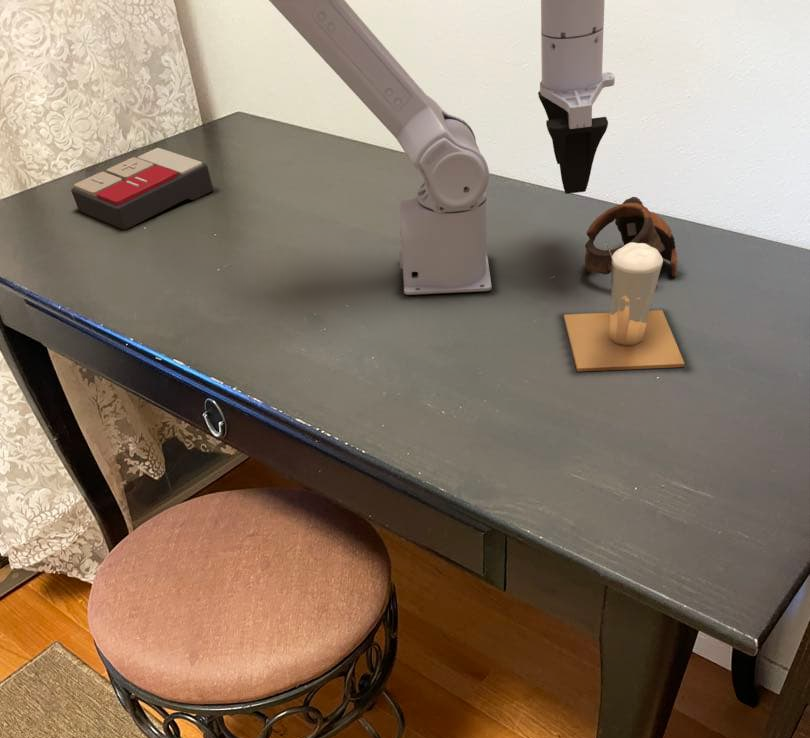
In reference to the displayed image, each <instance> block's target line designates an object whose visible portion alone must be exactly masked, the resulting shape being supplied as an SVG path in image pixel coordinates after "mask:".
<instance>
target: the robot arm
mask: <svg viewBox="0 0 810 738" xmlns="http://www.w3.org/2000/svg"><path fill="white" fill-rule="evenodd" d="M268 1H269V2H270V3H271V5H272V6H274V8H275V9H276V10H277V11H278V12H279V13H280V14H281V15H282V16H283V17H284V19H285V20H286V21H287V22H288V23H289V24H290V25H291V26H292V27H293V29H295V30H296V31H297V33H298V34H299V35H300V36H301V37H302V38H303V39H304V40H305V41H306V43H307V44H308V45H309V46H311V48H312V49H313V50H314V51H315V52H316V53H317V54H318V56H319V57H320V58H321V59H322V60H323V61H324V62H325V63H326V64H327V65H328V66H329V67H330V69H331V70H332V71H333V72H334V73H335V74H336V75H337V76H338V78H339V79H341V81H343V83H344V84H345V85H346V86H347V87H348V88H349V89H350V90H351V91H352V92H353V94H355V96H357V98H358V99H359V100H360V101H361V102H362V103H363V105H365V107H366V108H368V110H369V111H370V112H371V113H372V114H373V115H374V116H375V117H376V118H377V120H379V121H380V123H381V124H382V125H383V126H384V127H385V128H386V129H387V130H388V131H389V132H390V134H391V135H392V136H393V137H394V138H395V139H396V141H397V142H398V144H399V145H400V147H401V149H402V150H403V152H404V153H405V155H406V156H407V158H408V159H409V161H410V162H411V164H412V165H413V166H414V167H415V168H416V170H418V172H419V173H420V175H421V176H422V178H423V181H422V183H421V185H420V187H419V188H418V189H417V195H416V196H412V197H409V198H403V199H400V200H399V225H400V226H399V227H400V228H399V229H400V244H401V251H399V268H400V269H401V270H402V278H403V294H405V295H407V296H413V295H416V296H417V295H432V294H433V295H434V294H435V295H436V294H452V293H453V294H455V293H474V292H475V293H476V292H478V293H479V292H489V291H491V290H492V281H491V273H490V266H489V257H488V255H487V204H488V203H487V202H488V201H487V200H488V199H487V198H488V197H487V195H488V193H487V188H488V185H489V182H490V181H489V180H490V169H489V166H488V163H487V161H486V159H485V157H484V155H483V154H482V153H481V151H480V149H479V146H478V143H477V139H476V136H475V132H474V131H473V129H472V127H471V125H469V123H468V122H467V121H465V120H464V119H462V118H460V117H458V116H455V115H452V114H450V113H448V112H446V111H445V110H444V109H443V108H442V107H441V106H440V105H439V103H438V102H437V101H435V99H433V98H432V97H430V96H429V95H428V94H426V93H425V92H424V91H423V89H422V88H421V87H420V86H419V85H418V83H417V82H416V81H415V80H414V79H413V78H412V77H411V76H410V74H409V73H408V72H407V71H406V70H405V69H404V67H403V66H402V64H400V62H398V60H397V59H396V58H395V57H394V56H393V55H392V53H391V52H390V51H389V49H387V48H386V46H385V45H384V44H383V43H382V42H381V40H380V39H378V37H377V36H376V34H375V33H373V31H372V30H371V29H370V28H369V27H368V25H367V24H366V23H365V22H364V21H363V19H361V18H360V16H359V15H358V14H357V13H356V12H355V10H354V9H353V8H352V7H351V6H350V4H348V2H347V1H346V0H268ZM604 23H605V0H540V39H541V40H540V43H541V44H540V46H541V47H540V49H541V56H540V57H541V58H540V59H541V81H540V82H539V91H538V92H537V95H538V99H539V101H540V103H541V104H542V107H543V109H544V112H545V114H546V116H547V120H546V121H545V123H546V125H545V126H546V129H547V132H548V133H549V136H550V138H551V143H552V147H553V153H554V157H555V160H556V163H557V165H559V170H560V177H561V183H562V187H563V191H564V194H566V195H569V194H576V193H585V192H586V191H587V188H588V186H589V181H590V177H591V173H592V167H593V163H594V160H595V155H596V153H597V150H598V148H599V145H600V143H601V141H602V139H603V137H604V135H605V133H607V132H606V131H607V129H608V127H609V120H608V118H607V116H601V117H593V105H594V104H595V102H596V101H597V99H598V97H599V95H600V94H601V92H602V90H603V89H605V88H608V87H613V86H615V75H614V73H612V72H609V71H608V72H603V57H604V56H603V54H604V53H603V52H604V30H605V29H604V27H605V24H604Z"/></svg>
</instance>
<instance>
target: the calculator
mask: <svg viewBox="0 0 810 738" xmlns="http://www.w3.org/2000/svg"><path fill="white" fill-rule="evenodd" d="M73 186H74V187H72V188H71V189H70V192H71V194H72V197H73V199H74V203H75V205H76V207H77V209H78V212H81V213H83V214H86V215H87V216H90V217H93V218H95V219H97V220H100V221H102V222H104V223H106V224H109V225H111V226H114V227H116V228H118V229H121V230H123V231H126V230H129V229H130V228H132V227H134V226H136V225H139V224H140V223H142V222H144V221H147V220H148V219H150V218H152V217H154V216H156V215H159V214H160V213H162V212H165V210H168V209H171V208H172V207H174V206H176V205H178V204H180V203H182V202H184V201H185V200H189V201H195V200H197V199H199V198H201V197H203V196H205V195H207V194H209V193H212V192H213V191H214V185H213V182H212V179H211V174H210V171H209V167H208V164H207V163H204V162H202V161H200V160H197V159H194V158H191V157H188V156H186V155H182V154H179V153H175V152H173V151H171V150H167V149H164V148H161V147H156V148H154V149H151V150H149V151H147V152H145V153H143V154H140V155H138V156H137V157H134V156H133V157H130V158H128V159H126V160H124V161H122V162H119V163H116V164H115V165H112V166H111V167H109V168H107V169H106V171H100V172H97V173H96V174H93V175H91V176H89V177H86V178H85V179H83V180H80V181H78V182H76V183H74V184H73Z"/></svg>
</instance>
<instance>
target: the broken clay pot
mask: <svg viewBox="0 0 810 738" xmlns="http://www.w3.org/2000/svg"><path fill="white" fill-rule="evenodd" d="M613 222H614V224H615V226H616V227H617V230H618V231H619V233H620V237H621V241H622V243H623V245H621V246H619V247H616V248H614V249H609V250H610V253H611V255H612V256H613V254H614V253H615V252H616V251H617V250H618V249H620V248H622V247H623V246H625V245H626V244H628V243H631V242H634V243H645V244H647V245H649V246H651V247H653V248H655V249H657V250H658V252H659V253H660V255H661V256H662V258H663V260H666V261H668V262H670V263H669V264H670V265H669V266H670V267H671V277H672V278H676V277H677V274H678V265H677V264H678V253H677V250H676V241H675V237H674V235H673V233H672V230H671V227H670V226H669V224H668V223H667V222H666V221H665V220H664V219H663V218H662V217H661V216H659V215H657V214H656V213H655V212H652V211H650V210H649V209H648V207H647V206H645V205H644V204H643V201H641V199H640V198H639V197H637V196H631V197H629V198H626V199H625V200H624V201H623V202H622V203H621V204H617V205H614V206H613V207H610V208H608V209H607V210H606V211H603V213H601V214H600V215H599V216H598V217H596V219H595V220H594V221H593V222H592V223H591V224H590V226H589V227H588V229H587V231H586V236H587V237H588V240H587V241H586V243H585V245H584V247H585V254H584V265H585V270H586V272H587V273H591V272H593V273H596V274H601V275H606V276H607V275H610V274H611V273H612V259H611V256H610V253H609V250H608V249H606V250H604V249H600V248H598V247H596V246H595V244H594V242H595V240H596V238H597V236H598V235H599V234H600V233H601V231H603V230H604V228H606V227H607V226H608V225H610V224H611V223H613Z"/></svg>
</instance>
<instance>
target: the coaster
mask: <svg viewBox="0 0 810 738" xmlns="http://www.w3.org/2000/svg"><path fill="white" fill-rule="evenodd" d="M610 317H611V311H609V312H591V313H589V312H588V313H571V314H570V313H569V314H563V321H564V324H565V329H566V332H567V337H568V340H569V345H570V349H571V353H572V357H573V362H574V366H575V369H576V372H602V371H623V370H624V371H625V370H627V371H628V370H649V369H669V368H670V369H672V368H684V367H685V361H684V359H683V356H682V354H681V352H680V349H679V347H678V344H677V341H676V340H675V336H674V334H673V332H672V330H671V327H670V325H669V323H668V320H667V318H666V315H665V313H664V310H663V309H657V310H656V309H655V310H650V311H649V315H648V320H647V324H646V328H645V332H644V336H643V340H642V341H641V342H639V343H637V344H636V345H627V346H625V345H621V344H616V343H615V342H613V341H612V340H611V339H610Z"/></svg>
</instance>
